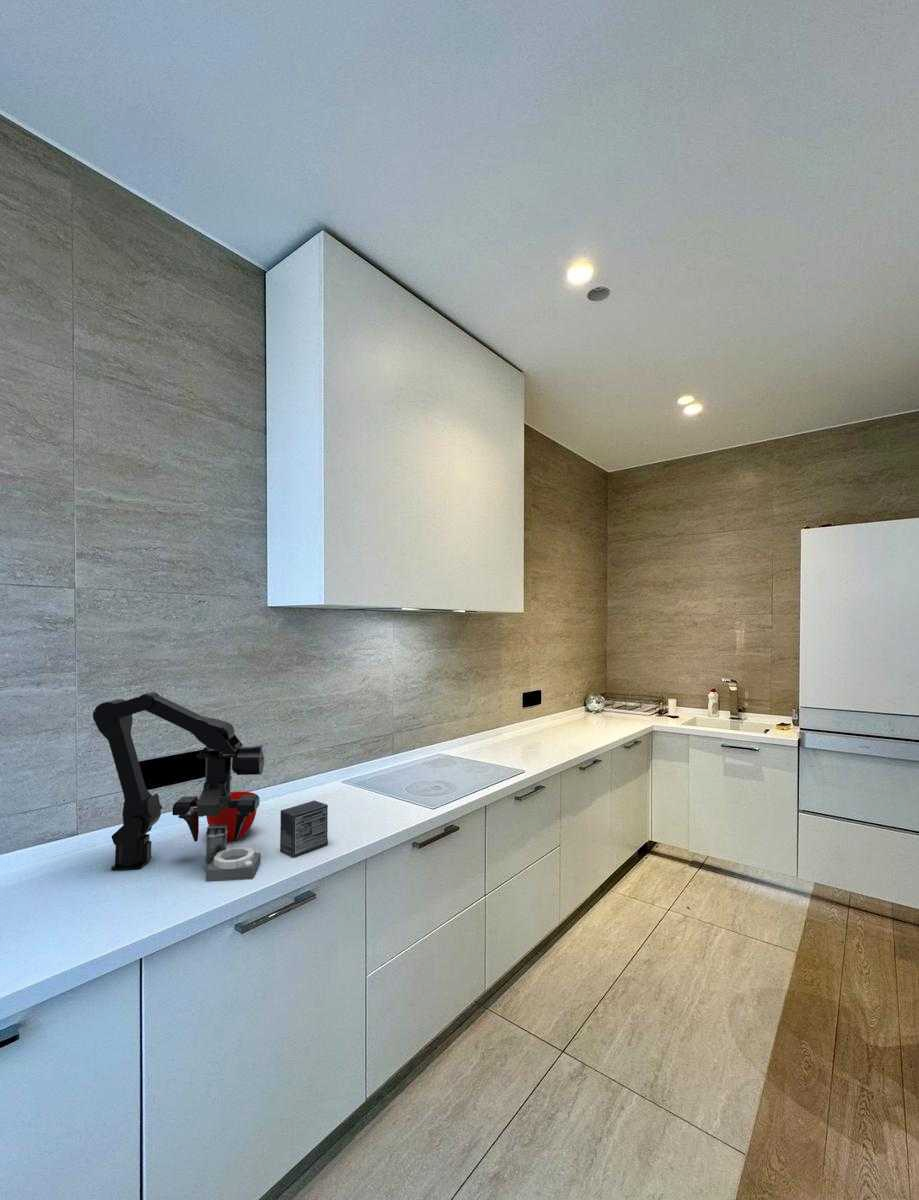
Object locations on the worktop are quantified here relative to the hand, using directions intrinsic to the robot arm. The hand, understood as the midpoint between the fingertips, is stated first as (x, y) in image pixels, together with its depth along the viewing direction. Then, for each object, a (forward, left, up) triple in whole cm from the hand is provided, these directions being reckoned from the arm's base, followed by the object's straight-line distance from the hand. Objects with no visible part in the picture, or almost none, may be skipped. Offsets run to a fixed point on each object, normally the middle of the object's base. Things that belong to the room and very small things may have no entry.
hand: (216, 840), depth 131 cm
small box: (+20, +5, -5) cm, 21 cm away
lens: (0, 0, -5) cm, 5 cm away
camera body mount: (+6, -7, -5) cm, 10 cm away
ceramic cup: (0, +17, -5) cm, 18 cm away
